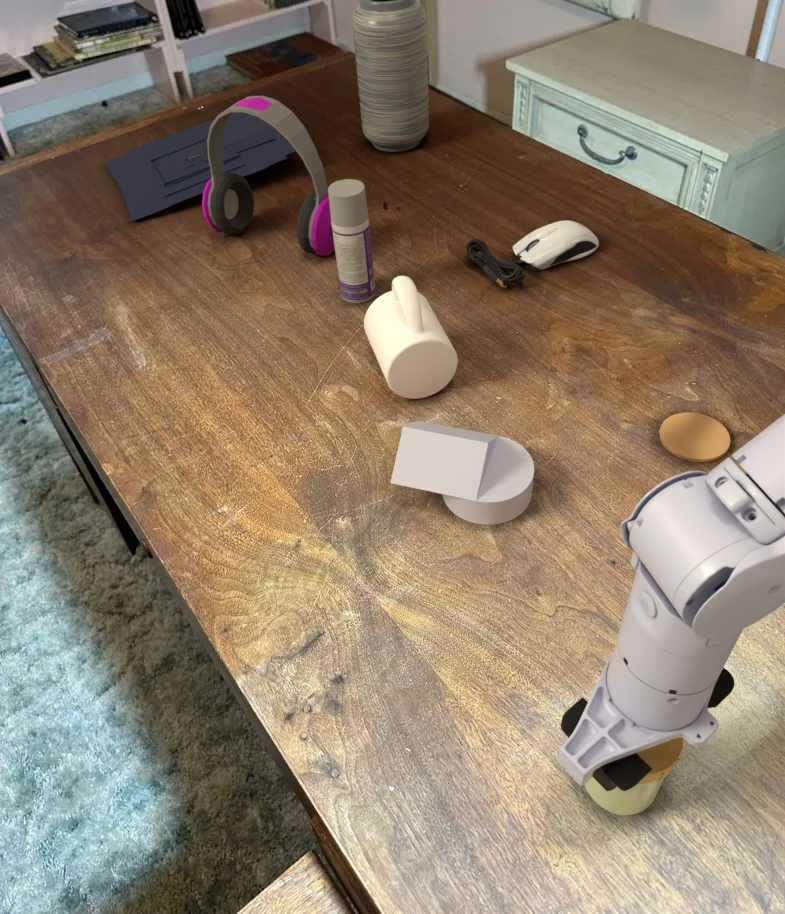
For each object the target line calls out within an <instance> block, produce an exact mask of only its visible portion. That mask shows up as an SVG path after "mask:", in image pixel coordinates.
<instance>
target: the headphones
mask: <svg viewBox="0 0 785 914" xmlns="http://www.w3.org/2000/svg"><path fill="white" fill-rule="evenodd" d="M237 112H244V113H247V114H250V115H253V116H256V117H259V118H260V119H262V120H264V121H265V122H267V123H268V124H270V125H271V126H273V127H274V128H275V129H276V130H278V131H279V132H280V133H281V134H282V135H283V136H284V137H285V138H286V139H287V140H288V141H289V142H290V143H291V145H292V146H293V147H294V149H295V150H296V151H295V152H296V153H297V154H298V156H299V157H300V158H301V160H302V162H303V164H304V166H305V168H306V170H307V171H308V173H309V175H310V177H311V180H312V184H313V185H312V186H313V187H314V191H313V192H311V193H309V194H308V196H307V197H306V198H305V199H304V201H303V202H302V205H301V207H300V209H299V210H298V216H297V220H296V237H297V242H298V244H299V247H300V248H301V249H302V250H303V251H304V252H305V253H307V254H311V255H315V254H316V255H317V256H321V257H325V256H329V255H330V254H332V253H333V252H335V246H334V239H333V232H332V224H331V214H330V205H329V195H328V182H327V177H326V173H325V168H324V165H323V162H322V160H321V158H320V156H319V153H318V150H317V148H316V146H315V144H314V142H313V140H312V138H311V136H310V134H309V132H308V130H307V128H306V127H305V126H304V124H303V123H302V122H301V120H300V119H299V118H298V117H297V116H296V114H295V113H294V112H293V111H292V110H291V109H290V108H288V107H287V106H286V105H284V104H283V103H282V102H280V101H279V100H278V99H275V98H271V97H269V96H265V95H249V96H246V97H244V98H243V99H241V100H239V101H237V102H235V103H234V104H232V105H231V106H229V107H228V108H226V109H225V110H223V111H221V112H220V113H219V114H218V115H217V116H216V117H215V118H214V119H213V120H214V121H213V123H212V124H211V126H210V129H209V134H208V138H207V149H208V160H209V165H210V170H211V175H212V178H211V179H210V180H209V181H208V182H207V184H206V187H205V189H204V192H203V193H202V200H201V201H202V202H201V208H202V212H203V218H204V219H205V221H206V223H207V224H208V226H209V227H210V228H211V229H212V230H214V231H216V232H217V233H221V234H225V235H230V236H237V235H239V234H242V233H244V231H245V230H246V229H247V228H248V226H250V224H251V221H252V218H253V216H254V211H255V210H254V209H255V199H254V192H253V190H252V188H251V186H250V183H249V181H247V179H245V177H244V176H243V177H242V176H241V175H238V174H234V173H229V174H225V170H224V166H223V157H222V135H223V131H224V128H225V126H226V123H227V121H228V118H229V117H230V116H231V114H234V113H237Z"/></svg>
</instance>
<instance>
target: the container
mask: <svg viewBox="0 0 785 914" xmlns="http://www.w3.org/2000/svg"><path fill="white" fill-rule="evenodd" d="M327 188H328V195H329V205H330V214H331V224H332V232H333V239H334V246H335V249H334V253H335V260H336V261H335V262H336V267H337V273H338V274H337V276H338V281H339V290H340V296H341V298H342V299H343V300H344V301H345V302H347V303H350V304H362V303H367V302H369V301H370V300H372V299H373V298H374V297H375V295H376V290H377V289H376V281H375V269H374V259H373V248H372V238H371V228H370V226H371V225H370V219H369V218H370V217H369V211H368V210H369V209H368V202H367V195H366V186H365V184H364V182H362V181H361V180H359V179H354V178H346V179H345V178H344V179H340V180H336V181H334V182H331V184H330V185H329V186H327Z"/></svg>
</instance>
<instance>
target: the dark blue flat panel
mask: <svg viewBox="0 0 785 914" xmlns="http://www.w3.org/2000/svg"><path fill="white" fill-rule="evenodd" d="M214 120H215V119H212V120H206V121H204V122H202V123H199V124H196V125H194V126H191V127H189V128H186V129H183V130H180V131H178V132H175V133H173V134H170V135H168V136H165V137H163V138H160V139H157V140H154V141H152V142H148V143H147V144H144V145H141V146H138V147H137V148H135V149H133V150H130V151H128V152H126V153H123V154H121V155H120V156H117V157H115V158H111V159H109V160H107V161H105V162H104V164H105V166H106V167H107V169H108V171H109V173H110V174H111V176H112V177H113V179H114V181H115V182H116V184H117V186H118V188H119V189H120V192H121V195H122V197H123V200H124V203H125V205H126V209H127V212H128V215H129V217H130V219H131V222H134V221H137V220H139V219H142V218H145V217H147V216H149V215H154V214H156V213H158V212H161V211H163V210H165V209H167V208H170V207H172V206H174V205H176V204H178V203H181V202H183V201H186V200H188V199H191V198H193V197H196V196H198V195H200V194H203V192H204V189H205V187H206V184H207V182H208V181H209V180H210V179H211V178H212V175H211V170H210V165H209V160H208V149H207V138H208V134H209V129H210V126H211V124H212V123H213V121H214ZM295 152H297V151H296V150H295V149H294V147H293V146H292V145H291V143H290V142H289V141H288V140H287V139H286V138H285V137H284V136H283V135H282V134H281V133H280V132H279V131H278V130H276V129H275V128H274V127H273V126H271V125H270V124H268V123H267V122H265V121H264V120H262V119H260V118H259V117H256V116H253V115H250V114H247V113H244V112H233V113H232V114H231V116H230V117H229V118H228V121H227V123H226V126H225V128H224V131H223V135H222V157H223V166H224V170H225V174H229V173H234V174H238V175H241V176H242V177H243V178H244V177H245V176H247V177H248V176H250V175H253V174H255V173H257V172H260V171H262V170H264V169H267V168H269V166H271V165H274V164H277V163H280V162H282V161H284V160H286V159H288V155H290V154H292V153H295Z"/></svg>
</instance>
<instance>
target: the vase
mask: <svg viewBox="0 0 785 914" xmlns="http://www.w3.org/2000/svg"><path fill="white" fill-rule="evenodd" d="M351 24H352V35H353V43H354V45H353V46H354V55H355V56H354V57H355V66H356V79H357V88H358V98H359V99H358V100H359V109H360V119H361V130H362V133H363V135H364V137H365V138H366V139H367V141H369V142H370V143H371V144H372V146H373V147H374V148H375V149H376V150H378V151H380V152H381V151H382V152H387V153H400V152H401V153H402V152H406V151H409V150H412V149H414V148H416V147H418V146H419V145H420V143H421V142H422V139H423V138H424V137H425V136H426V134H427V133H428V131H429V129H430V101H429V71H428V68H429V65H428V36H427V34H428V33H427V13H426V9H425V8H424V6H423V4H422V3H421V2H420V1H419V0H359V4H358V5H357V7H356V8H355V9H354V12H353V14H352V18H351Z"/></svg>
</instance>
